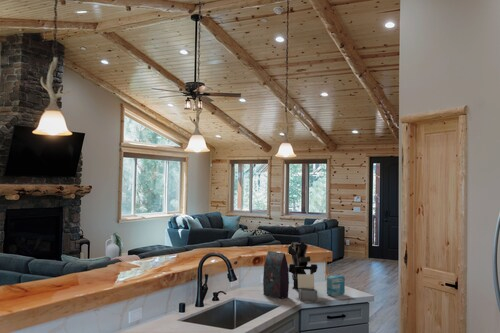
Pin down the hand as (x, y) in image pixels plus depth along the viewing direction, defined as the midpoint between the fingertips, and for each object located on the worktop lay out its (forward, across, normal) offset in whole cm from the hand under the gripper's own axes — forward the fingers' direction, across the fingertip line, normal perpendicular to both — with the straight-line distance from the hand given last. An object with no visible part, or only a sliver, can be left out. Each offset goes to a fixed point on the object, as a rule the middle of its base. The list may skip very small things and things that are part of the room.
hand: (304, 278), depth 290 cm
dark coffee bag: (+8, -19, +8) cm, 22 cm away
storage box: (+15, 0, 0) cm, 15 cm away
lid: (+4, 0, -3) cm, 5 cm away
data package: (+6, +21, +10) cm, 24 cm away
